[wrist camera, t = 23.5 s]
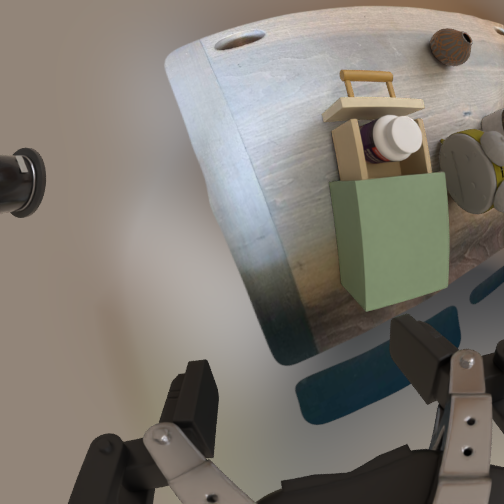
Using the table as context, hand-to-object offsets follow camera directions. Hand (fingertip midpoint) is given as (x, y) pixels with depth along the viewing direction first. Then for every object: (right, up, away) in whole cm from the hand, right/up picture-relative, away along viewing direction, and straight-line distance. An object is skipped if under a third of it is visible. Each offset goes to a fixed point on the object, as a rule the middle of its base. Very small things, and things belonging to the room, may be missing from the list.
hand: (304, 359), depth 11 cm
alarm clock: (+28, +17, +24) cm, 41 cm away
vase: (+31, +39, +19) cm, 54 cm away
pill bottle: (+13, +19, +22) cm, 32 cm away
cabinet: (+16, +8, +26) cm, 31 cm away
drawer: (+13, +19, +22) cm, 32 cm away
